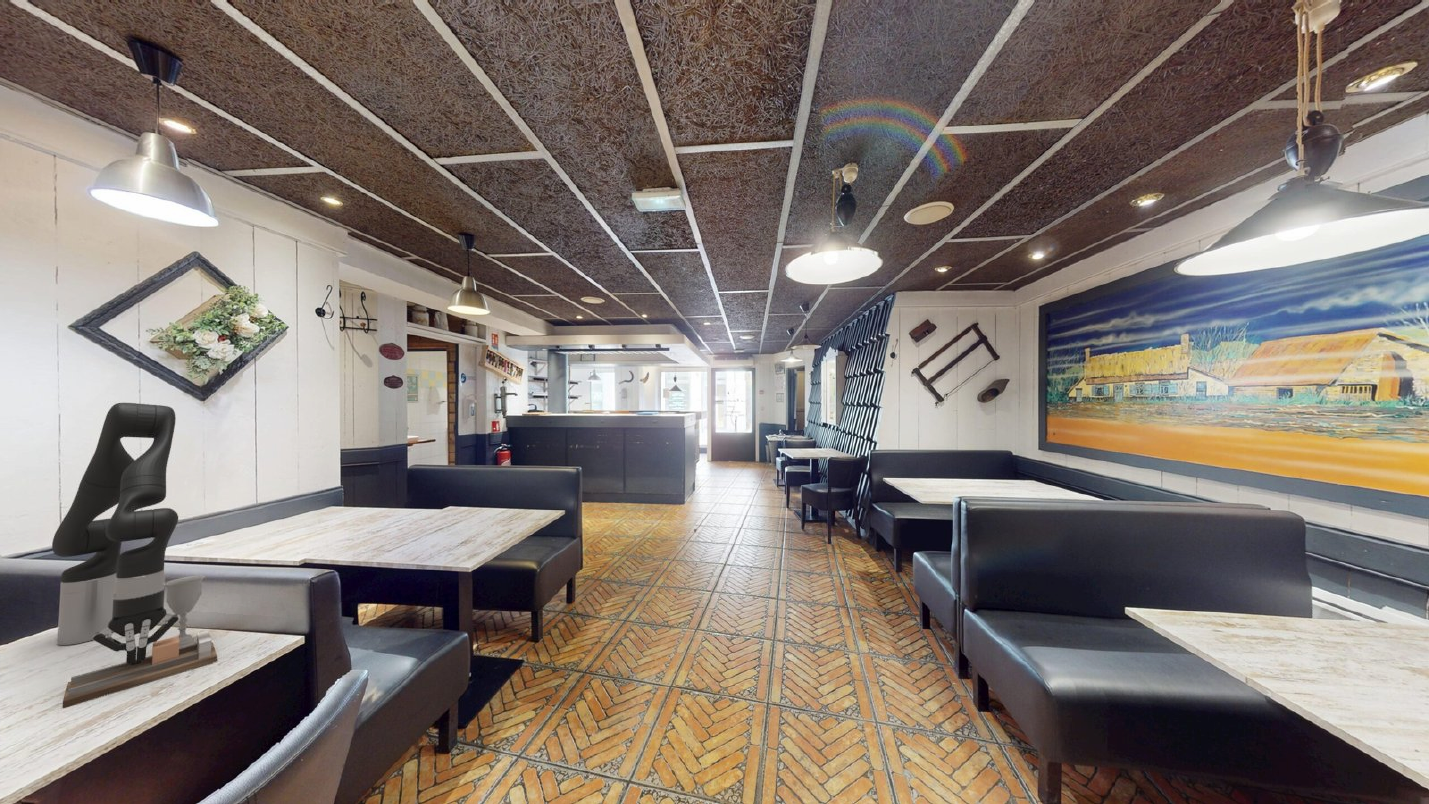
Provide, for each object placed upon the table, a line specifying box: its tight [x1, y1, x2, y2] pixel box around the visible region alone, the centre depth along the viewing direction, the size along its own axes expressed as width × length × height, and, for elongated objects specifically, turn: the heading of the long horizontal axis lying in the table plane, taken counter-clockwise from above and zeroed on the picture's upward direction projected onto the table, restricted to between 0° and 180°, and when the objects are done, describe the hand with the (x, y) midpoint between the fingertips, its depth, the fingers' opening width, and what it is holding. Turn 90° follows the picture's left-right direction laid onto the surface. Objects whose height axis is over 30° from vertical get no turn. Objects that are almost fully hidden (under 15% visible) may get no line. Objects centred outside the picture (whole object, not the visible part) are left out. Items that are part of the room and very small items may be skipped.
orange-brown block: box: [151, 635, 179, 665], centre depth 107 cm, size 5×4×5 cm
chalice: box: [165, 574, 206, 648], centre depth 118 cm, size 7×7×18 cm
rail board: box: [62, 630, 218, 709], centre depth 105 cm, size 11×22×6 cm, turn 144°
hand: (135, 663), depth 103 cm, fingers closed
